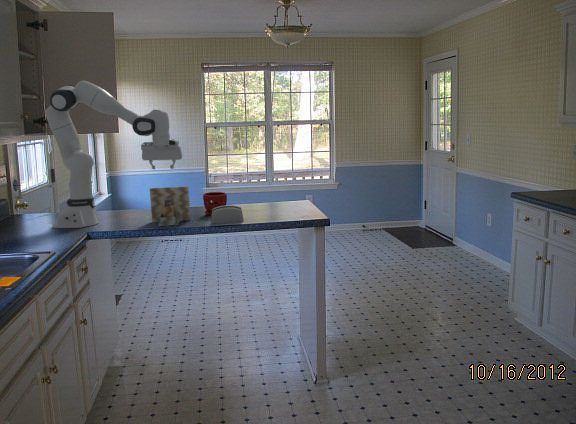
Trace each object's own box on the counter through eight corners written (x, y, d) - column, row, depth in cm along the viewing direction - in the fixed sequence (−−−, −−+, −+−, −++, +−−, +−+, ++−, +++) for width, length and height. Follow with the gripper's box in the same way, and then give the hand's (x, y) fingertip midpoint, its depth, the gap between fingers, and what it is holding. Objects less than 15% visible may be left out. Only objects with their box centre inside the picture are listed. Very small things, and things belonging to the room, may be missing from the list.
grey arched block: (243, 219, 292) (242, 202, 287) (244, 224, 288) (243, 207, 283) (211, 221, 289) (210, 204, 284) (211, 226, 285) (210, 209, 280)
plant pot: (201, 216, 304) (199, 195, 302) (208, 212, 317) (206, 191, 315) (224, 216, 302) (222, 194, 300) (230, 212, 315) (229, 191, 313)
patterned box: (148, 227, 280) (145, 192, 277) (153, 221, 296) (150, 187, 293) (188, 225, 282) (185, 190, 279) (190, 219, 298) (188, 186, 295)
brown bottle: (163, 222, 283) (161, 200, 281) (166, 219, 293) (164, 197, 291) (173, 222, 283) (171, 199, 281) (175, 218, 293) (174, 197, 291)
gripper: (139, 142, 280) (141, 169, 283) (180, 141, 282) (181, 168, 284) (141, 142, 287) (143, 168, 289) (181, 141, 288) (183, 167, 290)
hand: (162, 168), depth 287 cm, fingers open, 8 cm apart
